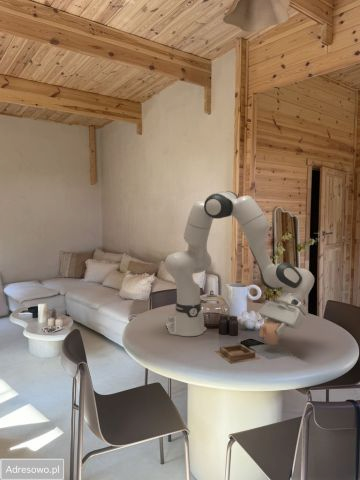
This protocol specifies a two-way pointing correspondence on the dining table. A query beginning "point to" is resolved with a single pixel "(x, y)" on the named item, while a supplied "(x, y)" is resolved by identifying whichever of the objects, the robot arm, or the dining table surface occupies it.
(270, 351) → the charcoal board
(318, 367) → the dining table surface
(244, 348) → the walnut stand
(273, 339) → the orange mug
